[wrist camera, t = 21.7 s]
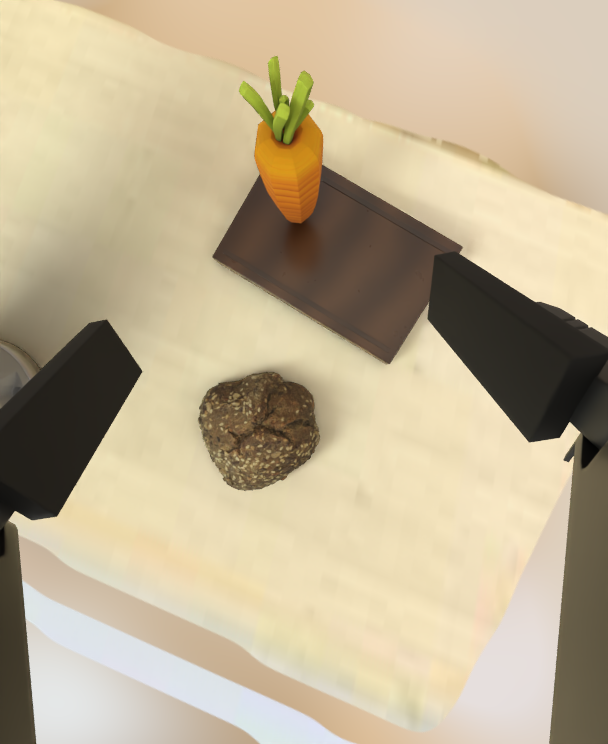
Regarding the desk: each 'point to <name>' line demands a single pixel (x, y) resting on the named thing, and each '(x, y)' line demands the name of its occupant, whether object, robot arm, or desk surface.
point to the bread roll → (258, 429)
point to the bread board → (339, 261)
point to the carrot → (288, 146)
